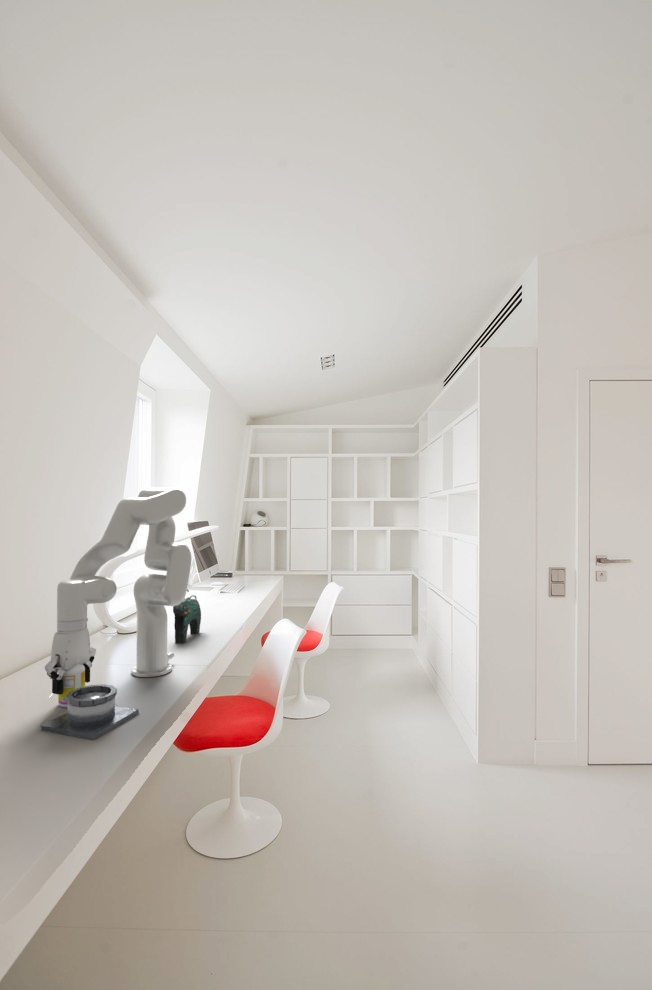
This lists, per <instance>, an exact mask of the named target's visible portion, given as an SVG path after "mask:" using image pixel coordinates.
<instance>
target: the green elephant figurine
mask: <svg viewBox="0 0 652 990" xmlns="http://www.w3.org/2000/svg"><path fill="white" fill-rule="evenodd" d="M189 591H190V590H189V589H187V591H186V592H187V593H189ZM192 597H194V598H192ZM200 606H201V605H200V603H199V601H198V599H197V596H196V595H190V596H188V597H185V598H184V600H183V601H182V602H181V603H180V604H179V605H176V606H172V607H173V608H172V612H173V615H174V624H173V625H174V641H175V642H174V643H175V644H182V645H183V644H185V643H186V642H187V637H188V629H189V630H190V632H189V633H190V634H191V635H198V634H200V629H201V623H202V610H201V609H202V608H201V607H200Z"/></svg>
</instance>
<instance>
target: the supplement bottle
mask: <svg viewBox="0 0 652 990" xmlns="http://www.w3.org/2000/svg"><path fill="white" fill-rule="evenodd" d="M79 661H80V659H78V660H77V663H79ZM59 672H60V671H59V670H58V672H57V674H59ZM61 679H63V694H61V695H60V694H57V695H58V696H57V697H58V698H57V699H58V700H57V701H58V706H60V707H63V708H68V703H67V702H66V695H67V694H68V693H69V692H70V691H72V690H75V689H77V688H80V687H84V686H86V682H85V667H84V665H82V664H81V665H79V664H77V665H76V666H75V667H73V668H71V669H69V670H65V672H64V674H63V676H62V678H61Z"/></svg>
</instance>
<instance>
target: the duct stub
mask: <svg viewBox="0 0 652 990" xmlns="http://www.w3.org/2000/svg"><path fill="white" fill-rule="evenodd" d="M117 694H118V689H117V688H116V687H115V686H114V685H112V684H102V683H101V684H89V685H85V686H84V687H80V688H77V689H75V690H72V691H70V692H69V693H68V694H67V695H66V702H67V703H68V707H67V712H65V713H64V714H61V715H59V716H57V717H56V718H54V719H52V720H49V721H46V723H43V724H41V725H40V731H41V732H49V733H52V734H60V735H64V736H69V737H70V736H71V737H77V738H83V739H88V740H92V741H95V740H97V739H98V738H100V737H102V736H105V734H107V733H109V732H111V731H112V730H114V729H115V728H118V725H119V726H120V725H122V724H123V722H124V723H126V722H127V721H128V719H129V720H130V718H131V719H132V718H134V717H136V716H138V715H139V714H140V713H139V712H140V711H139V710H140V709H139V708H135V707H134V708H133V707H127V706H121V705H120V706H119V705H116V696H117ZM135 715H136V716H135ZM133 716H134V717H133ZM126 720H127V721H126ZM125 721H126V722H125ZM113 728H114V729H113Z"/></svg>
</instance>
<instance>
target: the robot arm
mask: <svg viewBox="0 0 652 990" xmlns="http://www.w3.org/2000/svg"><path fill="white" fill-rule="evenodd" d="M186 504H187V496H186V494H185V492H184V491H183V490H181V489H180V488H178V487H148V488H144V489H142V490H141V491H139V493H138V495H137V496H135V497H134V496H133V497H126V498H123V499H121V500H120V501H119V502H118V504H117V505H116V508H115V510H114V512H113V514H112V516H111V519H110V520H109V523H108V524H107V526H106V529H105V531H104V533H103V536H102V537H101V539H100V540H99V541H98V542H97V543H95V544H94V545H93V546H92V547H91V548H90V549H89V550H88V551H86V553H85V554H84V555H83V556H82V557H80V559H79V561H77V564H76V565H75V567H74V569H73V572H72V574H71V576H70V578H69V579H65V580H62V581H60V582H59V583H58V584H57V589H56V593H57V594H56V597H57V598H56V632H54V635H53V637H52V638H53V639H52V644H51V649H50V650H51V651H50V660H49V661H48V662H47V663H46V664H45V666H44V670H45V672H46V675H47V676H48V677H49V679H50V680H51V690H52V691H51V694H52V693H53V694H54V695H58V694H60V695H61V694H63V679H61V678H62V676H63V674H64V672H65V670H69V669H71V668H73V667H75V666H76V665H77V664H79V665H81V664H82V665H84V667H85V683H88V684H89V683H90V682H91V669H92V666H93V661H94V660H95V656H96V653H97V648H94V647H92V646H91V642H90V632H89V628H88V621H89V618H88V605H91V604H92V605H93V604H94V605H95V604H104V603H108V602H109V601H111V600H112V599H113V598H114V597H115V595H116V594H117V589H118V588H117V585H116V582H115V581H114V579H111V578H109V577H107V576H102V575H101V576H100V575H99V576H98V575H97V573H98V571H99V570H100V569H101V567H103V565H105V564H106V563H108V562H109V561H112V560H113V559H115V558H117V557H120V556H122V555H124V554H125V553H127V552H129V550H130V549H131V546H132V544H133V542H134V539H135V537H136V535H137V532H138V531H139V528H140V526H142V525H145V526H148V533H147V534H148V535H147V540H146V546H145V552H144V558H143V559H144V560H143V563H144V564H145V566H146V568H148V569H150V570H154V571H161V572H163V571H164V572H166V574H156V573H155V574H154V573H149V574H143V575H141V576H139V577H138V578H137V579H136V581H135V582H134V584H133V585H134V586H133V596H134V602H135V606H136V607H135V608H136V665H135V666H133V667H132V668H131V675H133V676H134V677H137V678H138V677H139V678H154V677H160V676H164V675H167V674H169V673H170V672H171V671H172V669H173V665H172V664H170V663H169V660H172V659H173V658H174V657H175V654H174V652H169V653H168V613H167V610H166V607H167V606H169V607H173V606H176V605H179V604H180V603H181V602H182V601H183V600H184V598H185V599H186V594H187V592H188V591H187V590H188V584H189V580H190V579H189V578H190V573H191V567H192V552H191V550H190V547H188V545H187V544H185V543H183V542H175V537H176V523H175V521H174V518H173V517H174V516H176V515H179V514H181V513H182V512H183V510H185V508H186ZM78 659H80V661H79V663H77V660H78ZM58 671H60V672H59V674H58Z"/></svg>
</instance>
